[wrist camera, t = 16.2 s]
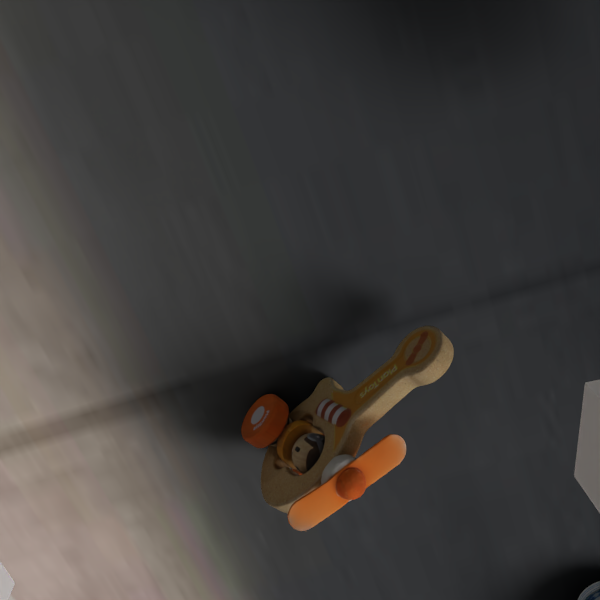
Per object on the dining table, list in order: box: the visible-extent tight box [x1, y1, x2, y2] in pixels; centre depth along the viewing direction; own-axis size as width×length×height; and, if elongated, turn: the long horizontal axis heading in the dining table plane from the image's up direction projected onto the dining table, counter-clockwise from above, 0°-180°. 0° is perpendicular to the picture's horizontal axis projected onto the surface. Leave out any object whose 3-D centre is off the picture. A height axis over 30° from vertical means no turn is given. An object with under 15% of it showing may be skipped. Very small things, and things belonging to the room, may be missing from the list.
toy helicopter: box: [241, 326, 454, 531], centre depth 45 cm, size 8×21×14 cm, turn 135°
